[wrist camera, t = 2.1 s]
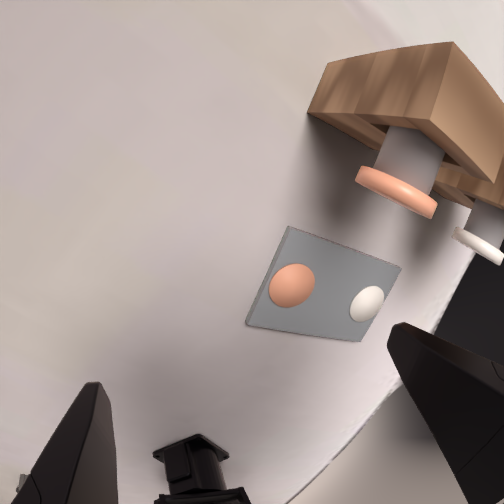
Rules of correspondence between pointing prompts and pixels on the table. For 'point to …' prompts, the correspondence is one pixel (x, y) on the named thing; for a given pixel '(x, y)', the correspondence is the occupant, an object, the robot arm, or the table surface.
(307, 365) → the table surface
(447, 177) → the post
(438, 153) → the plunger
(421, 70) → the post
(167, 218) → the table surface
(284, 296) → the card
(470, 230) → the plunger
